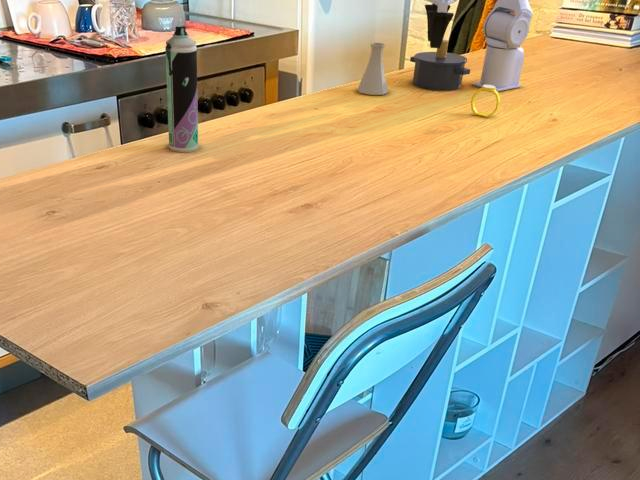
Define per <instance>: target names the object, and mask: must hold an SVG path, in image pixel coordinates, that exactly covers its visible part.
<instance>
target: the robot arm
mask: <svg viewBox="0 0 640 480" xmlns="http://www.w3.org/2000/svg"><path fill="white" fill-rule="evenodd" d="M425 1H426V2H429V3H431V4H427V3H426V4H424V8H425V13H426V19H427V20H426V21H427V42H429V46H430V48H431V49H437V48H440V46H441V44H442V41H443V40H444V38H445V34H446V31H447V29H448V26H449V24H450V22H451V20H453V17H454V16H455V14H454V12H449V11H450V9H451V4H454V3H455V0H425ZM530 1H531V0H496V2H495V4H494V6H493V8H492V10H491V12H490V13H488V15H487V16H486V17H485V20H484V23H483V27H482V30H483V31H482V32H483V35H484V37H485V39H486V40H485V43H486V49H485V54H484V60H483V64H482V70H481V74H480V80H479V81H475V82H472V83H471V85H472V86H474V87H478V88H482V86H483V85H493V86H495V87H496V88H495V90H496V91H497V92H503V91H508V90H512V89H516V88H521V87H522V84H520V80H521V74H522V70H523V65H524V61H525V52H524V49H523V47H522V44H523V43H524V42H525V41H526V39H527V38H528V35H529V32H530V26H531V25H530V24H531V20H532V18H533V16H534V13H533V11H532V7H531V5H530Z"/></svg>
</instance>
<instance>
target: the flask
mask: <svg viewBox="0 0 640 480" xmlns="http://www.w3.org/2000/svg"><path fill="white" fill-rule="evenodd" d="M385 47H386V44H385V43H384V42H371V43H370V48H371V50H370V51H371V52H370V56H369V59H368V63H367V65H366V69H365V71H364V73H363V75H362V77H361V80H360V83H359V85H358V87H357V91H358V93H360V94H365V95H370V96H372V95H373V96H379V95H380V96H381V95H382V96H383V95H385V94H387V93H389V90H388V85H387V84H388V83H387V80H386V75H385V68H384V58H383V53H384V48H385Z"/></svg>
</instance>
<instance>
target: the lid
mask: <svg viewBox="0 0 640 480" xmlns="http://www.w3.org/2000/svg"><path fill="white" fill-rule="evenodd" d="M448 47H449V40H447V39H443V41H442V44H441V46H440V48H436V51H422V52H417V53H415V54H414V55H413V56H414V59H415V60H417V61H419V62H423V63H427V64H434V65H461V64H465V65H466V63H468V58H467V57H466V56H464V55H461V54H457V53H452V52H448Z"/></svg>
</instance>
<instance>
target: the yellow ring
mask: <svg viewBox="0 0 640 480" xmlns="http://www.w3.org/2000/svg"><path fill="white" fill-rule="evenodd" d="M495 88H496V87H495V86H493V85H483V86H482V87H479V89H477V90H476V91H475V92H474V93H473V95H472V96H471V100H470V108H471V111H472V113H473V115H475V116H480V117H484V118H490V117H491V116H493V115H495V113H496V112H497V111H498V110H499V108H500V104H501V97H500V93H499V91H496V90H495ZM481 91H485V92H492V93H493V94H494V96H495V99H496V104H495V108H494V110H493V111H492V112H491V113H489V114H487V113H483V112H479V111H478V109H477V108H476V107H475V106H476V105H475V99H476V96H477V95H478V94H479V93H480V92H481Z"/></svg>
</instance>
